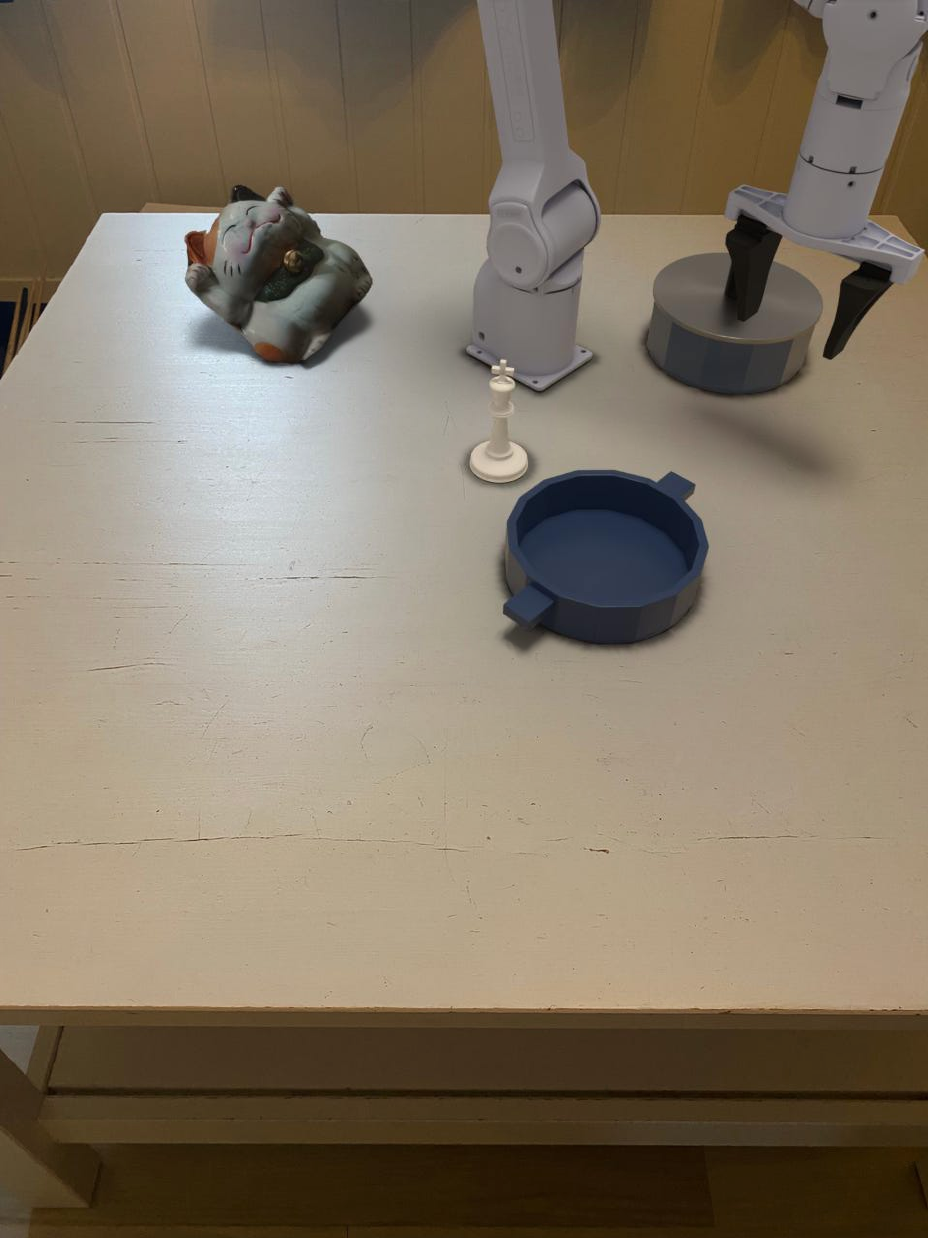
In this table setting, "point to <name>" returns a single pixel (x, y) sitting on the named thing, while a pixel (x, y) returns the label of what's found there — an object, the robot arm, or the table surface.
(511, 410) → the chess piece
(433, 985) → the table surface
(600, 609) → the pan
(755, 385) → the pot
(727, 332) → the lid
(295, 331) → the lucky cat figurine
